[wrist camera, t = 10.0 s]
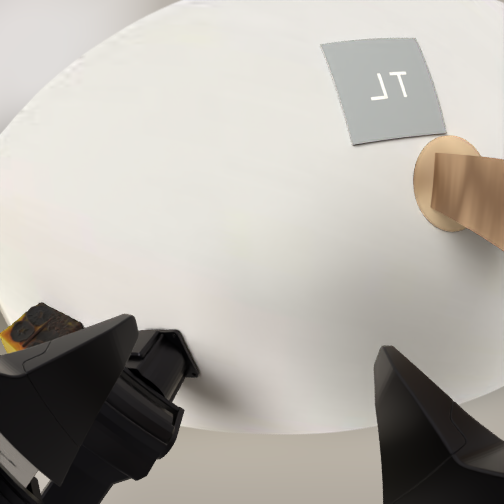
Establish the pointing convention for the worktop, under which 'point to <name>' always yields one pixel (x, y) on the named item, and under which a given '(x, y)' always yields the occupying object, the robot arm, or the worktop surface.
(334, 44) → the tile
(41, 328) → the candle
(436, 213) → the cork coaster
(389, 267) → the worktop surface
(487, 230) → the walnut block
